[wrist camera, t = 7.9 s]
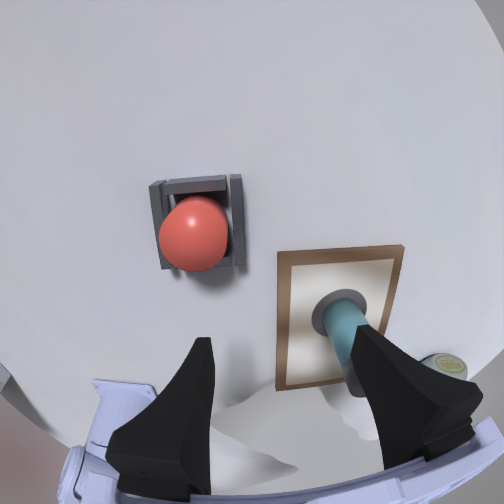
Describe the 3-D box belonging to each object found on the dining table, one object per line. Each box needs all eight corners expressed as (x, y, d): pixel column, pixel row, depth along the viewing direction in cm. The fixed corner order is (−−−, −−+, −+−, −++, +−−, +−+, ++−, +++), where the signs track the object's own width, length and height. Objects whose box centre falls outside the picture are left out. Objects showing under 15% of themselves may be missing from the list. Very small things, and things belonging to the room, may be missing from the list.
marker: (355, 327, 24) (389, 391, 17) (318, 332, 24) (344, 401, 17) (362, 294, 23) (403, 357, 15) (322, 299, 23) (355, 368, 15)
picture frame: (368, 373, 28) (371, 377, 28) (275, 387, 28) (276, 392, 27) (401, 244, 22) (405, 248, 21) (277, 251, 22) (278, 255, 21)
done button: (230, 249, 20) (229, 270, 17) (174, 252, 20) (164, 273, 17) (226, 192, 18) (224, 204, 15) (166, 197, 18) (154, 210, 15)
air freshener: (379, 394, 31) (405, 453, 22) (412, 348, 28) (452, 409, 18) (430, 389, 32) (457, 436, 23) (461, 349, 29) (496, 396, 20)
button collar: (244, 253, 21) (245, 265, 20) (167, 257, 21) (161, 269, 19) (240, 174, 19) (241, 178, 17) (156, 180, 19) (148, 186, 17)
